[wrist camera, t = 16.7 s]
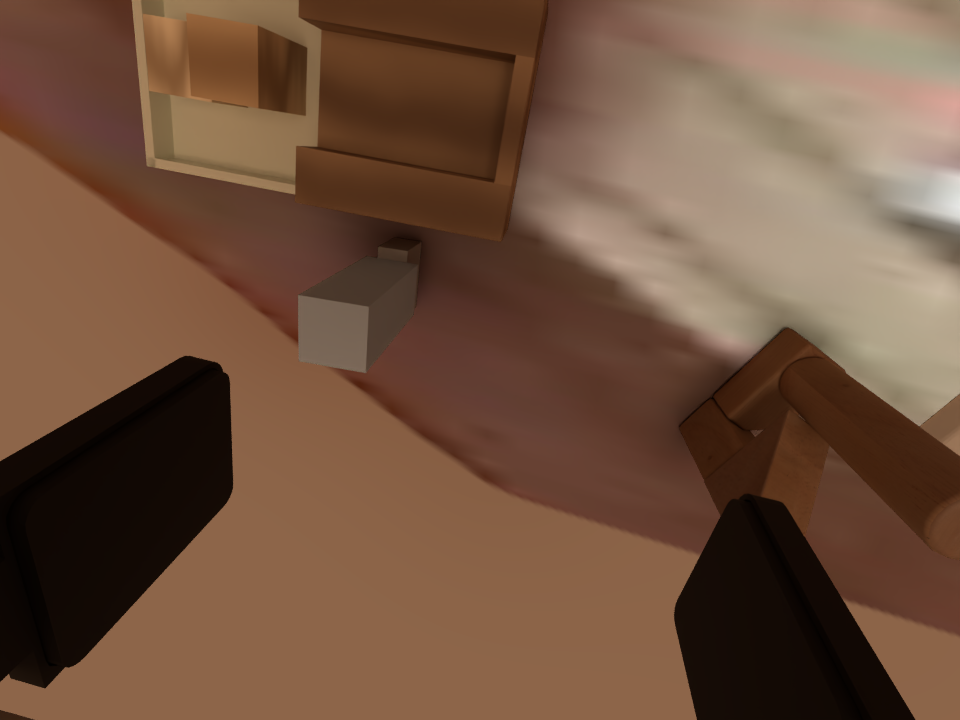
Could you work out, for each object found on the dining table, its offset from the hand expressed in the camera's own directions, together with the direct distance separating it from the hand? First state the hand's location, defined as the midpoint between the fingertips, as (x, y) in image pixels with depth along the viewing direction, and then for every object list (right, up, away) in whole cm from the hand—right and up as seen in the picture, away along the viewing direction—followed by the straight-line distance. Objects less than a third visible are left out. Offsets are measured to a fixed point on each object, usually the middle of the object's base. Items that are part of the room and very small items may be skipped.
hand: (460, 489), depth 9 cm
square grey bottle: (-5, +9, +28) cm, 30 cm away
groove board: (-3, +19, +24) cm, 30 cm away
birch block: (-15, +21, +22) cm, 34 cm away
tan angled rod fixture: (+21, 0, +29) cm, 35 cm away
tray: (-15, +21, +24) cm, 36 cm away
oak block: (-13, +21, +24) cm, 34 cm away
